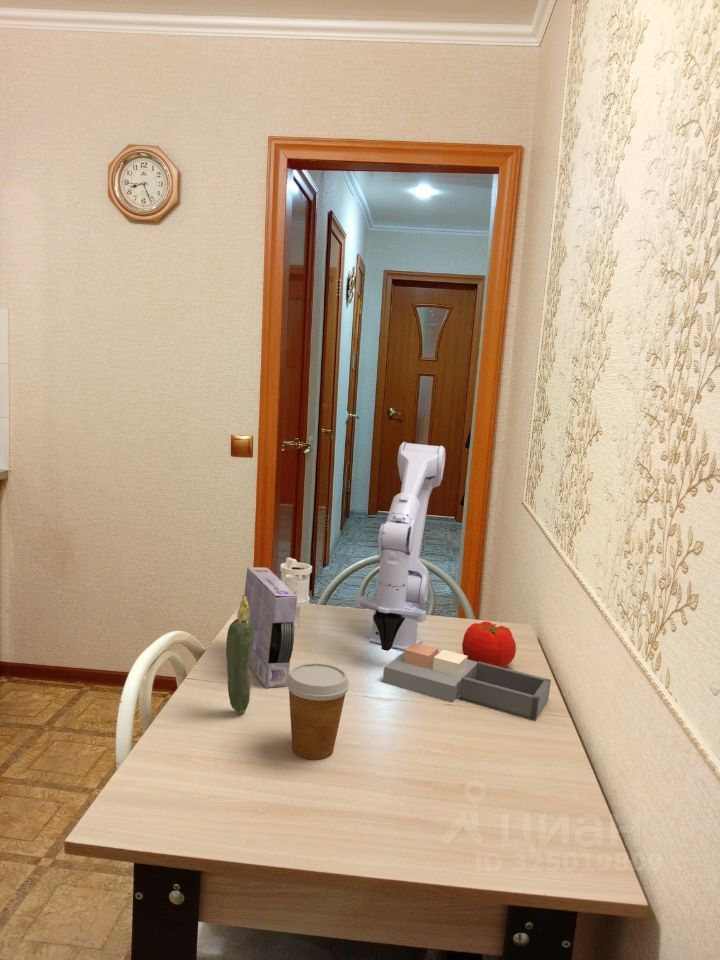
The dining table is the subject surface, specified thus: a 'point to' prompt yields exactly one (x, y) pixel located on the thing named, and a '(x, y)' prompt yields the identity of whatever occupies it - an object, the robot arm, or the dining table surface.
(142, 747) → the dining table surface
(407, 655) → the tile terracotta
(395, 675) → the slate board
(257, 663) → the cake pan box
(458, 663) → the tile cream
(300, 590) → the strainer
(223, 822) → the dining table surface
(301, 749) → the disposable coffee cup
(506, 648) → the tomato
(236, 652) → the vegetable
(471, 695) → the box
